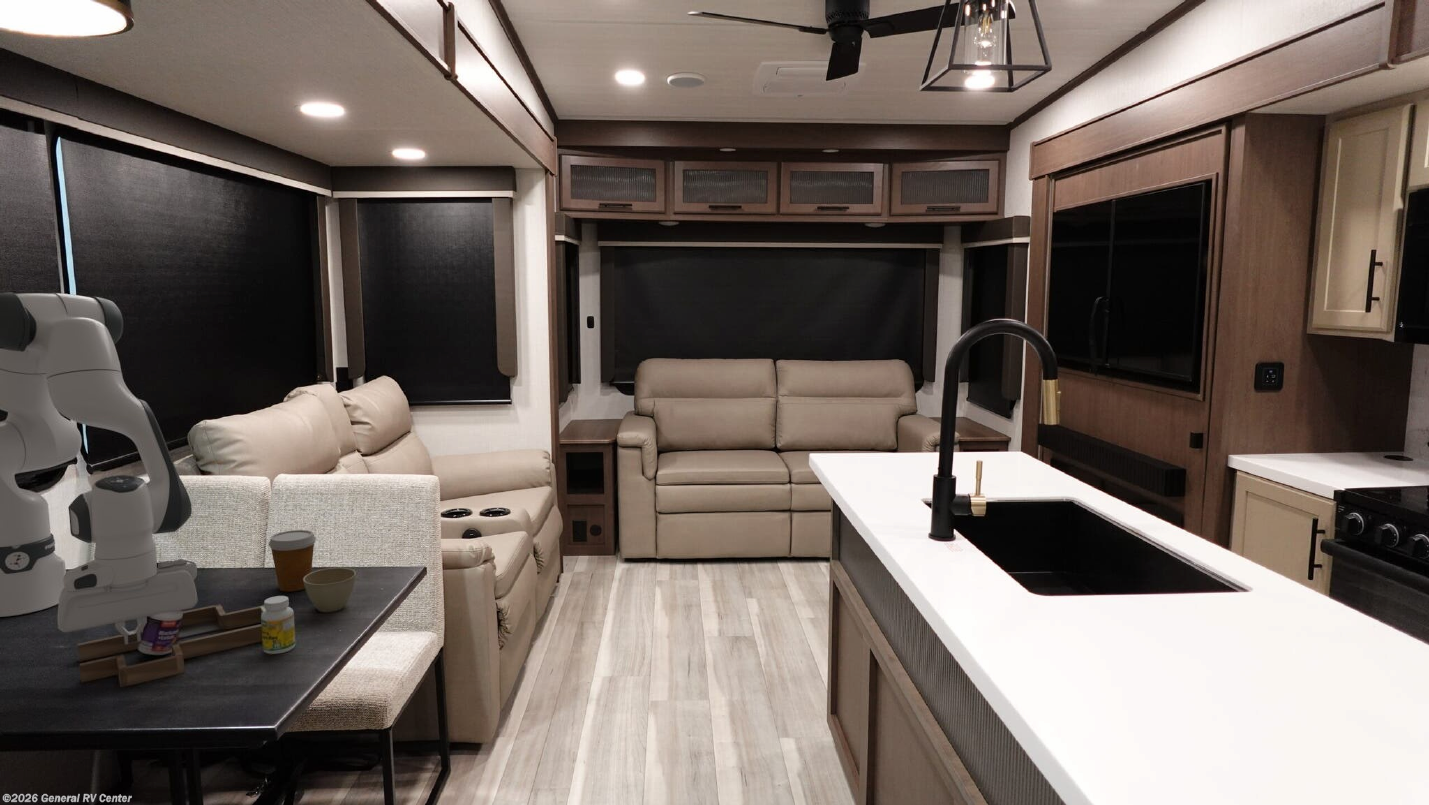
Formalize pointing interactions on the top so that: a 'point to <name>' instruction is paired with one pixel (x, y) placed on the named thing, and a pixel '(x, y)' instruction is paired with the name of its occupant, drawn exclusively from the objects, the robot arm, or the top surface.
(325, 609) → the flower pot
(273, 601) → the supplement bottle
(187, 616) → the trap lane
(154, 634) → the pill bottle
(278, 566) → the disposable coffee cup
